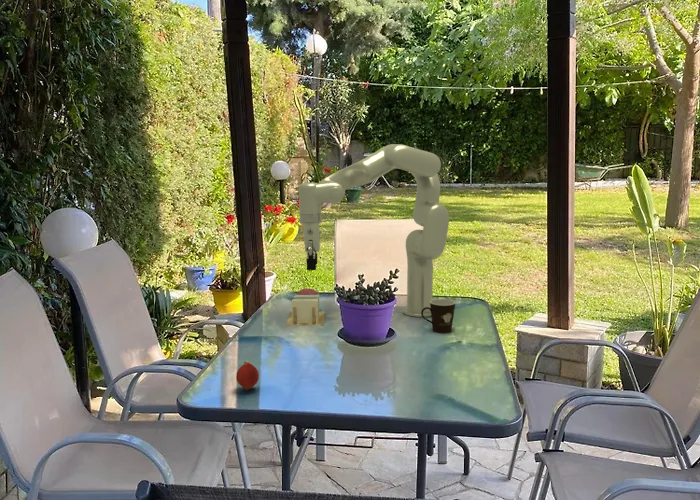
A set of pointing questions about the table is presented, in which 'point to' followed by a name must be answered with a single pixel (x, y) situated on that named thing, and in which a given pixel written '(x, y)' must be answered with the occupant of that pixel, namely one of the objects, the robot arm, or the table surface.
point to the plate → (309, 298)
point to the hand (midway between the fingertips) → (312, 267)
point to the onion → (247, 375)
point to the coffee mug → (441, 315)
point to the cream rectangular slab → (305, 309)
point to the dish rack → (320, 322)
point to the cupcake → (306, 290)
